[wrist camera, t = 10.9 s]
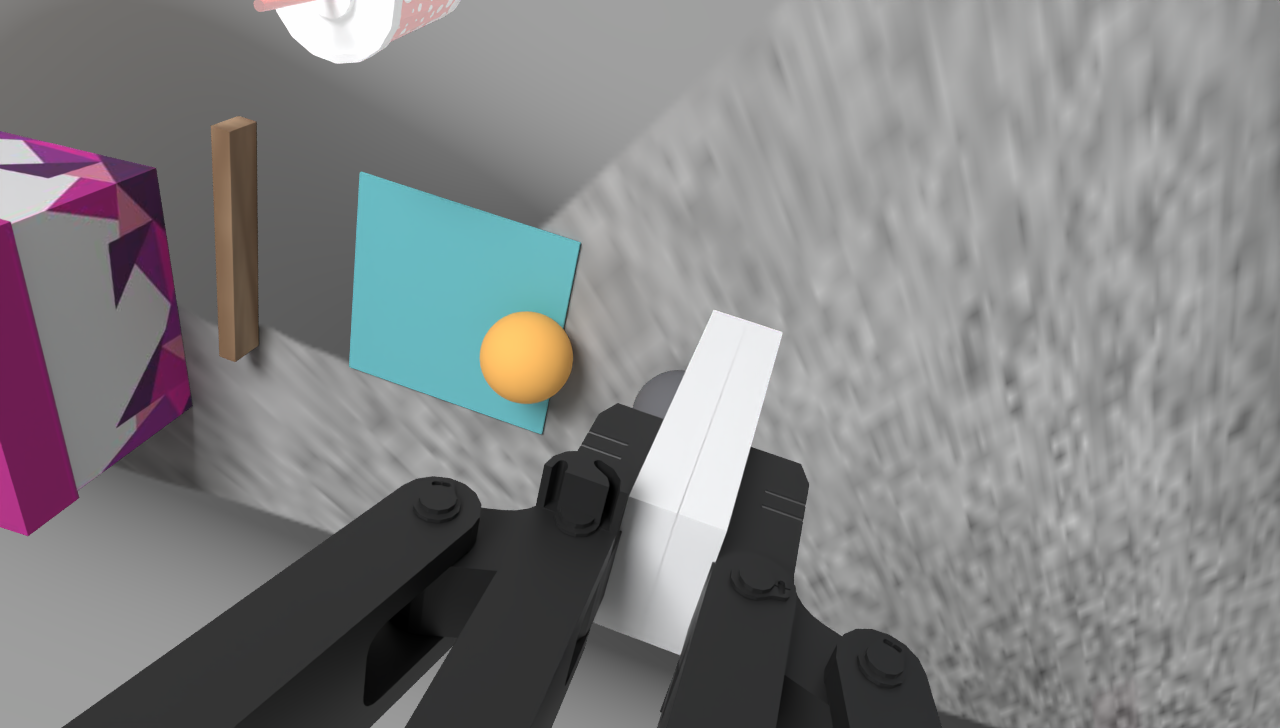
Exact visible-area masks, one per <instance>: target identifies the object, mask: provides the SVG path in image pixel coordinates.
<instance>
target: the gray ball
mask: <svg viewBox="0 0 1280 728" xmlns="http://www.w3.org/2000/svg"><path fill="white" fill-rule="evenodd" d="M685 372H686V371H682V370H675V371H668V372H665V373H662V374H659V375H657V376H656V377H654V378H652V379H651V380H650V381H648V382H647V383H646V384H645V385H644V386H643V388H642V389H641V390H640V392H639V393H638V395H637V397H636V399H635V402H634V405H633V409H636V410H639V411H642V412H645V413H648V414H651V415H654V416H657V417H660V418H662V419H664V418H665V416H666V414H667V412H668V409H669V407H670V405H671V403H672V401H673V398H674V396H675V394H676V392H677V390H678V387H679V385H680V383H681V381H682V379H683V376H684V374H685Z"/></svg>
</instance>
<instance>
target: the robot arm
mask: <svg viewBox="0 0 1280 728" xmlns="http://www.w3.org/2000/svg"><path fill="white" fill-rule="evenodd" d="M782 333H783V332H780V331H777V330H774V329H771V328H768V327H765V326H762V325H759V324H756V323H753V322H750V321H747V320H744V319H741V318H737V317H734V316H731V315H728V314H725V313H722V312H719V311H716V310H713V313H712V315H711V317H710V319H709V321H708V324H707V326H706V328H705V330H704V332H703V335H702V337H701V339H700V341H699V343H698V346H697V348H696V350H695V352H694V354H693V357H692V359H691V361H690V363H689V365H688V368H687V370H686V372H685V374H684V376H683V379H682V381H681V383H680V385H679V387H678V390H677V392H676V394H675V396H674V398H673V401H672V403H671V405H670V407H669V409H668V412H667V414H666V416H665V418H664V419H662V418H660V417H657V416H654V415H651V414H648V413H645V412H642V411H639V410H636V409H633V408H630V407H628V406H625V405H622V404H619V403H617V404H616V405H614V406H612V407H610V408H609V409H607V410H605V411H603V412H602V413H600V414H599V415H598V417H597V418H596V420H595V422H594V424H593V425H592V427H591V429H590V431H589V433H588V434H587V436H586V437H585V439H584V441H583V442H582V445H581V446H580V448H579V449H578V451H567V452H564V453H561V454H558V455H555V456H553V457H552V458H551V459H550V460H549V461H548V462H547V463H546V464H545V465H544V469H543V474H542V479H541V484H540V489H539V493H538V498H537V503H536V506H534V507H532V508H529V509H523V510H496V509H487V508H481V503H480V501H479V499H478V496H477V494H476V493H475V492H474V491H473V490H471V489H470V488H469V487H468V486H467V485H465V484H463V483H461V482H458V481H456V480H453V479H451V478H443V477H434V476H432V477H426V478H419V479H415V480H413V481H411V482H409V483H407V484H405V485H403V486H401V487H400V488H398V489H397V490H396V491H394V492H393V493H391V494H390V495H389V496H387V497H386V498H384V499H383V500H382V501H380V502H379V503H377V504H376V505H375V506H373V507H372V508H370V509H369V510H367V511H366V512H365V513H363V514H362V515H360V516H359V517H358V518H356V519H355V520H353V521H352V522H351V523H349V524H348V525H346V526H345V527H344V528H342V529H341V530H339V531H338V532H336V533H335V534H334V535H332V536H331V537H329V538H328V539H327V540H325V541H324V542H323V543H321V544H320V545H318V546H317V547H315V548H314V549H313V550H311V551H310V552H308V553H307V554H306V555H304V556H303V557H302V558H300V559H298V560H297V561H296V562H294V563H293V564H291V565H290V566H289V567H287V568H286V569H284V570H283V571H282V572H280V573H279V574H277V575H276V576H275V577H273V578H272V579H270V580H269V581H267V582H266V583H265V584H263V585H262V586H260V587H259V588H258V589H256V590H255V591H254V592H252V593H251V594H249V595H248V596H246V597H245V598H244V599H242V600H241V601H239V602H238V603H237V604H235V605H234V606H233V607H231V608H230V609H228V610H227V611H225V612H224V613H222V614H221V615H220V616H218V617H217V618H215V619H214V620H213V621H211V622H210V623H208V624H207V625H206V626H204V627H203V628H201V629H200V630H199V631H197V632H196V633H194V634H193V635H191V636H190V637H189V638H187V639H186V640H184V641H183V642H182V643H180V644H179V645H177V646H176V647H175V648H173V649H172V650H170V651H169V652H168V653H166V654H165V655H163V656H162V657H161V658H159V659H158V660H156V661H155V662H153V663H152V664H151V665H149V666H148V667H146V668H145V669H144V670H142V671H141V672H139V673H138V674H137V675H135V676H134V677H132V678H131V679H130V680H128V681H127V682H125V683H124V684H122V685H121V686H120V687H118V688H117V689H116V690H114V691H113V692H111V693H110V694H108V695H107V696H106V697H104V698H103V699H101V700H100V701H99V702H97V703H96V704H94V705H93V706H91V707H90V708H89V709H87V710H86V711H84V712H83V713H82V714H80V715H79V716H77V717H76V718H75V719H73V720H72V721H70V722H69V723H68V724H66V725H65V726H63V727H62V728H370V727H371V726H372V725H373V724H374V723H375V722H376V721H377V720H378V719H379V718H380V717H381V716H382V715H383V714H384V713H385V712H386V711H387V710H388V709H389V708H390V707H391V706H392V705H393V704H394V703H395V702H396V701H397V700H399V699H400V698H401V697H402V696H403V694H405V693H406V692H407V690H409V689H410V688H411V687H412V686H413V685H414V684H415V683H416V682H417V681H418V680H419V679H420V678H421V677H422V676H423V675H424V674H425V673H426V672H427V671H428V670H429V669H430V668H431V667H432V666H433V665H434V664H435V663H436V662H437V661H438V660H439V659H440V658H441V657H442V656H443V655H444V654H445V653H446V652H447V651H448V650H449V649H450V648H451V647H452V646H453V647H452V649H451V650H450V652H449V654H448V655H447V657H446V659H445V660H444V662H443V664H442V665H441V667H440V669H439V671H438V672H437V674H436V676H435V677H434V679H433V681H432V682H431V684H430V686H429V688H428V689H427V691H426V693H425V694H424V696H423V698H422V700H421V701H420V703H419V704H418V706H417V708H416V710H415V711H414V713H413V715H412V716H411V718H410V720H409V721H408V723H407V725H406V726H405V728H552V725H553V723H554V721H555V718H556V716H557V713H558V711H559V709H560V706H561V704H562V702H563V699H564V697H565V694H566V692H567V690H568V687H569V684H570V682H571V680H572V678H573V675H574V673H575V670H576V668H577V666H578V663H579V661H580V658H581V656H582V654H583V651H584V649H585V645H586V642H587V638H588V635H589V631H590V628H591V625H592V623H593V620H594V623H596V624H599V625H601V626H604V627H607V628H609V629H612V630H615V631H617V632H620V633H623V634H625V635H628V636H631V637H634V638H636V639H639V640H641V641H644V642H647V643H649V644H652V645H655V646H657V647H660V648H663V649H666V650H668V651H671V652H674V653H676V654H679V655H680V658H679V661H678V664H677V667H676V669H675V672H674V675H673V678H672V680H671V683H670V686H669V688H668V691H667V694H666V697H665V699H664V702H663V705H662V708H661V710H660V712H662V714H661V717H660V720H659V723H658V727H657V728H942V726H941V723H940V720H939V716H938V713H937V709H936V706H935V703H934V699H933V696H932V693H931V689H930V686H929V682H928V679H927V676H926V673H925V671H924V669H923V667H922V665H921V663H920V661H919V659H918V658H917V657H916V656H915V655H914V654H913V653H912V652H911V650H910V649H909V648H908V647H907V646H906V645H904V644H903V643H901V642H900V641H898V640H897V639H895V638H893V637H892V636H890V635H888V634H885V633H882V632H879V631H876V630H873V629H855V630H853V631H850V632H848V633H846V634H844V635H843V636H840V635H839V634H837V633H836V632H834V631H833V630H831V629H830V628H828V627H827V626H825V625H824V624H822V623H821V622H820V621H819V620H817V619H816V618H815V617H813V616H812V615H811V614H810V612H809V611H808V610H807V609H806V608H805V607H804V606H803V604H802V603H801V601H800V599H799V598H798V596H797V593H796V587H795V585H794V572H795V566H796V560H797V554H798V548H799V542H800V536H801V530H802V524H803V522H802V521H803V518H804V512H805V505H806V500H807V494H808V488H809V483H808V480H807V478H806V475H805V473H804V470H803V468H802V466H801V464H799V463H796V462H793V461H791V460H788V459H785V458H782V457H779V456H776V455H773V454H770V453H767V452H764V451H761V450H758V449H756V448H753V447H751V444H752V440H753V436H754V433H755V429H756V426H757V422H758V419H759V415H760V412H761V408H762V404H763V401H764V397H765V394H766V390H767V387H768V383H769V380H770V376H771V372H772V369H773V365H774V362H775V358H776V355H777V351H778V347H779V344H780V340H781V337H782ZM594 618H595V619H594Z"/></svg>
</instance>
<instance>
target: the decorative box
mask: <svg viewBox="0 0 1280 728" xmlns="http://www.w3.org/2000/svg"><path fill="white" fill-rule="evenodd" d="M192 406H193V405H192V399H191V392H190V386H189V379H188V373H187V366H186V360H185V353H184V347H183V340H182V334H181V327H180V321H179V314H178V307H177V301H176V295H175V288H174V281H173V275H172V268H171V262H170V255H169V249H168V242H167V236H166V229H165V223H164V216H163V210H162V203H161V197H160V190H159V183H158V177H157V170H156V168H154V167H149V166H146V165H141V164H137V163H133V162H128V161H124V160H120V159H116V158H112V157H107V156H103V155H99V154H95V153H91V152H86V151H82V150H78V149H74V148H69V147H65V146H61V145H57V144H52V143H48V142H44V141H40V140H35V139H31V138H27V137H22V136H18V135H14V134H10V133H6V132H2V131H0V527H2V528H4V529H8V530H11V531H14V532H17V533H20V534H23V535H26V536H29V535H30V534H31V533H33V532H34V531H36V530H37V529H38V528H40V527H41V526H42V525H44V524H45V523H46V522H48V521H49V520H50V519H52V518H53V517H54V516H56V515H57V514H58V513H60V512H61V511H62V510H64V509H65V508H66V507H68V506H69V505H70V504H72V503H73V502H74V501H76V500H77V499H78V498H79V495H78V490H79V489H81V488H82V487H83V486H85V485H86V484H88V483H89V482H90V481H92V480H93V479H94V478H96V477H97V476H98V475H100V474H101V473H103V472H104V471H105V470H107V469H108V468H109V467H111V466H112V465H113V464H115V463H116V462H117V461H119V460H120V459H122V458H123V457H124V456H126V455H127V454H128V453H130V452H131V451H132V450H134V449H135V448H136V447H138V446H139V445H140V444H142V443H143V442H145V441H146V440H147V439H149V438H150V437H151V436H153V435H154V434H155V433H157V432H158V431H159V430H161V429H162V428H164V427H165V426H166V425H168V424H169V423H170V422H172V421H173V420H174V419H176V418H177V417H178V416H180V415H181V414H183V413H184V412H185V411H187V410H188V409H189V408H191V407H192Z"/></svg>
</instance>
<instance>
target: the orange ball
mask: <svg viewBox="0 0 1280 728" xmlns="http://www.w3.org/2000/svg"><path fill="white" fill-rule="evenodd" d="M572 364H573V351H572V346H571V343H570V340H569V338H568V336H567V334H566V332H565V331H564V330H563V328H562V327H561V326H560V325H559V324H558V323H557V322H555V321H554V320H553V319H551V318H549V317H548V316H546V315H543V314H541V313H536V312H529V311H525V312H516V313H512V314H509V315H507V316H505V317H503V318H502V319H500V320H498V321H497V322H496V323H495V324H494V325H493V326H492V327H491V328H490V329H489V331H488V332H487V334H486V335H485V337H484V339H483V342H482V345H481V349H480V366H481V370H482V373H483V376H484V378H485V380H486V382H487V383H488V385H489V386H490V387H491V388H492V389H493V390H494V391H495V392H496V393H497V394H498V395H500V396H501V397H503V398H505V399H506V400H509V401H512V402H515V403H521V404H532V403H538V402H541V401H544V400H546V399H548V398H550V397H552V396H553V395H555V394H556V393H557V392H558V391H559V390H560V389H561V388H562V387H563V386H564V384H565V383H566V381H567V380H568V377H569V375H570V373H571V370H572Z"/></svg>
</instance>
